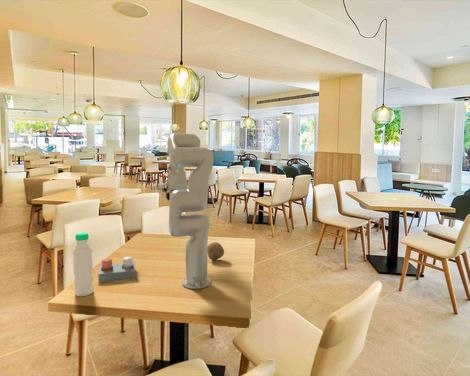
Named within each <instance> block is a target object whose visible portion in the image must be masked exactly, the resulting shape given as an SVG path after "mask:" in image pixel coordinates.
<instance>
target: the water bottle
mask: <svg viewBox="0 0 470 376" xmlns="http://www.w3.org/2000/svg"><path fill="white" fill-rule="evenodd" d="M74 239H75V241H76V244H75V246H74V249H73V250H72V255H73V261H72V262H73V263H72V264H73V275H74V277H73V278H74V280H73V282H74V295H75V296H78V297H86V296H89V295H91V294H92V293H93V292H94V276H93V273H94V272H93V271H94V269H93V266H94V265H93V255H92V253H93V249H92V247H91V246H90V244H89V242H88V240H89V233H88V232H78V233H76V234H75V237H74Z"/></svg>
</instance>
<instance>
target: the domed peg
mask: <svg viewBox="0 0 470 376" xmlns="http://www.w3.org/2000/svg"><path fill="white" fill-rule="evenodd" d="M133 262H134V261H133V257H132V256H124V257H123V258H122V263H123V269H127V268H133Z"/></svg>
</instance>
